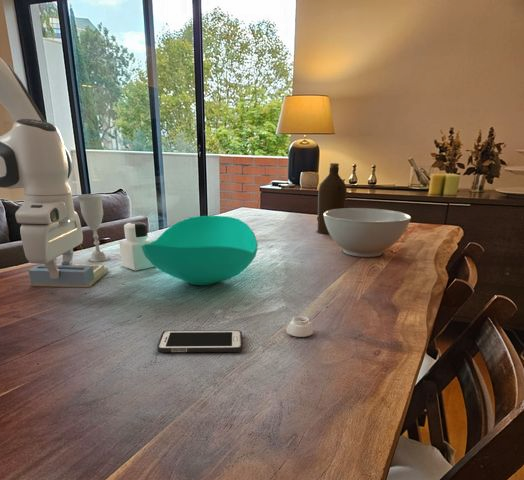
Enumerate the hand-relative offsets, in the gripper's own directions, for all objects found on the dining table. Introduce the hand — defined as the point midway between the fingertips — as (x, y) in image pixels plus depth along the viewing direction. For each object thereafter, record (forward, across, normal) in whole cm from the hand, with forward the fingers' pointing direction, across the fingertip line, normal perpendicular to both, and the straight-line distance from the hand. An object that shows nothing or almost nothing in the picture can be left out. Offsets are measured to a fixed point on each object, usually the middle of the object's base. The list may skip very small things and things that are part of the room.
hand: (61, 273), depth 100 cm
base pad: (+6, -17, -6) cm, 19 cm away
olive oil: (+6, -86, +68) cm, 110 cm away
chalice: (+6, -37, -6) cm, 38 cm away
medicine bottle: (+6, -30, +8) cm, 32 cm away
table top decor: (+6, -17, +28) cm, 34 cm away
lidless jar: (+6, +16, +52) cm, 54 cm away
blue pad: (+2, 0, 0) cm, 2 cm away
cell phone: (+6, +22, +34) cm, 40 cm away
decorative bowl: (+6, -52, +75) cm, 92 cm away
